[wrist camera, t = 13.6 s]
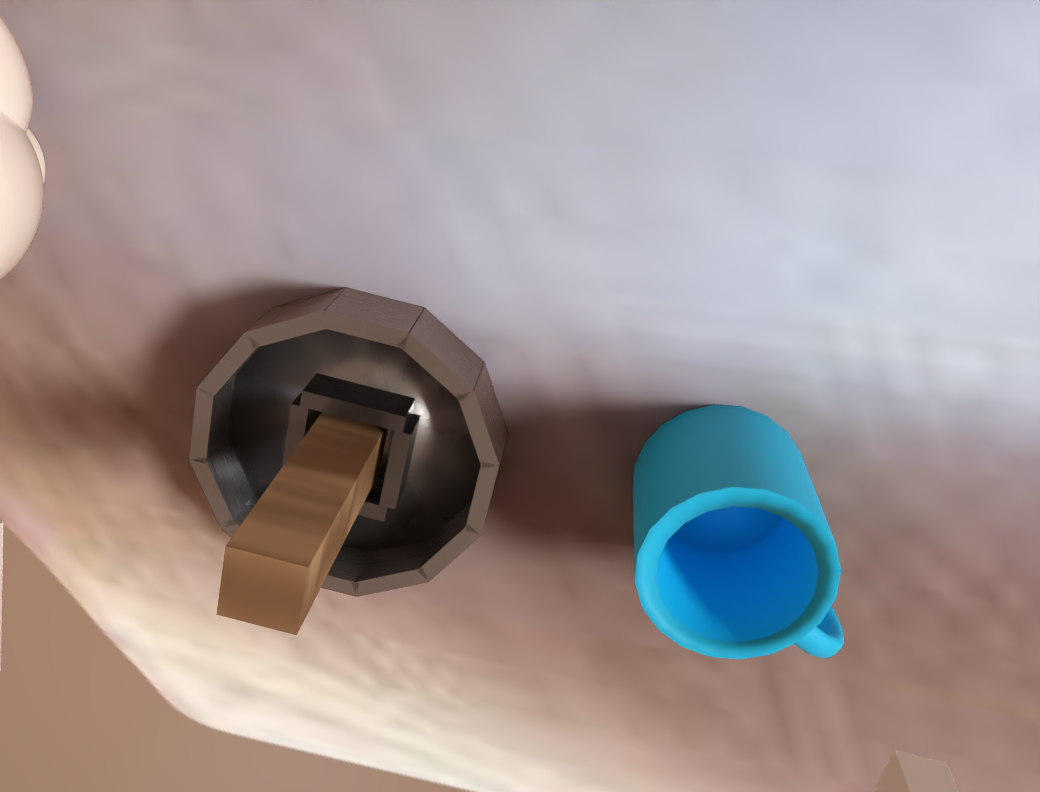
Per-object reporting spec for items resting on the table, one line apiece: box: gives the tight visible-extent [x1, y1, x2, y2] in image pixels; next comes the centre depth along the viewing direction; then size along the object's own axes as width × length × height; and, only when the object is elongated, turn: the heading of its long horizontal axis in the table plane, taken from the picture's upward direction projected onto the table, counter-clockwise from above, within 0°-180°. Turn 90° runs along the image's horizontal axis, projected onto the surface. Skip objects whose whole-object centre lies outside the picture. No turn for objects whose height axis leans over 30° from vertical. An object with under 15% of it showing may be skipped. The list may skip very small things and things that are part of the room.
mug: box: [633, 405, 844, 659], centre depth 43 cm, size 12×8×8 cm
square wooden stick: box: [217, 412, 388, 635], centre depth 40 cm, size 3×3×13 cm
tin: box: [189, 288, 508, 597], centre depth 45 cm, size 14×14×4 cm
